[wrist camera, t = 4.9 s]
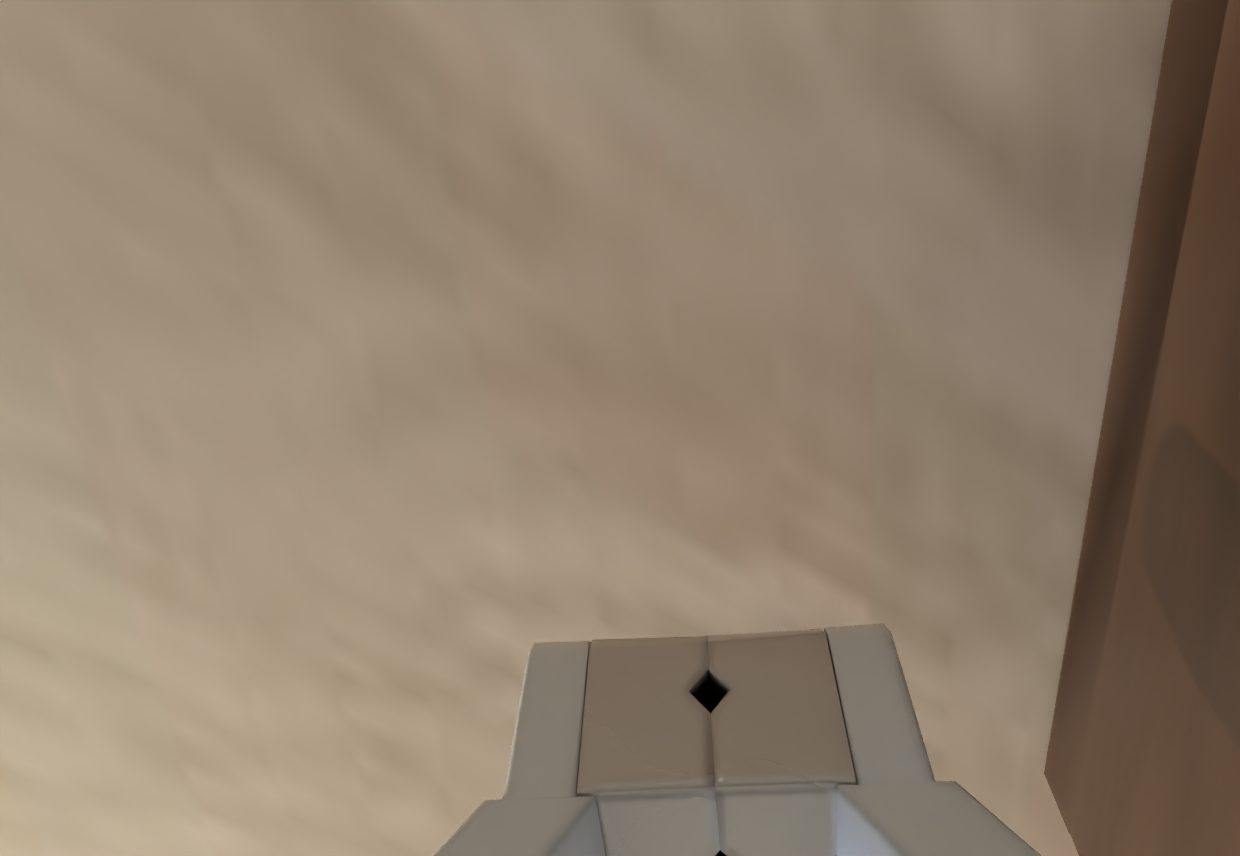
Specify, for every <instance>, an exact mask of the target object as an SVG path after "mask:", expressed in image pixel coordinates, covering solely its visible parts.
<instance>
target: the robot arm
mask: <svg viewBox="0 0 1240 856" xmlns="http://www.w3.org/2000/svg"><path fill="white" fill-rule="evenodd" d="M434 856H1041V855H1040V854H1039V853H1037V852H1036V851H1035V850H1034V849H1033V848H1032V847H1031V846H1029V845H1028V844H1027V843H1026V842H1025V841H1024V840H1022V839H1021V838H1020V837H1019V836H1018V835H1017V834H1015V833H1014V832H1013V831H1012V830H1011V829H1010V828H1009V827H1007V826H1006V825H1005V824H1004V823H1003V822H1002V821H1000V820H999V819H998V818H997V817H996V816H995V815H994V814H992V813H991V812H990V811H989V810H988V809H987V808H985V807H984V806H983V805H982V804H981V803H980V802H979V801H977V800H976V799H975V798H974V797H973V796H972V795H970V794H969V793H968V792H967V791H966V790H965V789H964V788H962V787H961V786H960V785H959V784H958V783H957V782H955V781H950V782H935V779H934V775H933V772H932V769H931V765H930V762H929V759H928V755H927V752H926V748H925V745H924V742H923V738H922V735H921V732H920V728H919V725H918V721H917V718H916V715H915V711H914V708H913V705H912V701H911V698H910V694H909V691H908V688H907V684H906V681H905V678H904V674H903V671H902V667H901V664H900V661H899V657H898V654H897V650H896V647H895V644H894V640H893V637H892V634H891V631H890V630H889V629H888V628H887V627H886V626H885V625H884V624H872V625H858V626H844V627H830V628H825V629H824V631H823V630H822V629H810V630H794V631H778V632H762V633H746V634H730V635H714V636H701V637H669V638H636V639H604V640H592V642H589V641H583V642H544V643H534V644H533V646H532V648H531V650H530V652H529V654H528V655H527V660H526V665H525V671H524V677H523V683H522V689H521V695H520V701H519V707H518V713H517V718H516V724H515V730H514V736H513V742H512V748H511V754H510V760H509V766H508V772H507V777H506V783H505V789H504V795H503V799H500V800H485V801H484V802H483V803H482V804H481V805H480V806H479V807H478V808H477V809H476V810H475V811H474V813H473V814H472V815H471V816H470V817H469V818H468V819H467V820H466V821H465V822H464V823H463V824H462V826H461V827H460V828H459V829H458V830H457V831H456V832H455V833H454V834H453V835H452V836H451V837H450V839H449V840H448V841H447V842H446V843H445V844H444V845H443V846H442V847H441V848H440V849H439V850H438V852H437V853H436V854H435V855H434Z"/></svg>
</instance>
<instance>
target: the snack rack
mask: <svg viewBox="0 0 1240 856" xmlns="http://www.w3.org/2000/svg"><path fill="white" fill-rule="evenodd" d="M1044 774H1045V777H1046V779H1047V781H1048V784H1049V786H1050V789H1051V791H1052V793H1053V796H1054V798H1055V801H1056V803H1057V805H1058V808H1059V810H1060V813H1061V815H1062V817H1063V820H1064V822H1065V825H1066V827H1067V829H1068V832H1069V833H1070V835H1071V837H1072V839H1073V842H1074V844H1075V846H1076V849H1077V851H1078V854H1079V856H1240V0H1172V5H1171V11H1170V17H1169V23H1168V29H1167V35H1166V41H1165V47H1164V53H1163V59H1162V65H1161V71H1160V77H1159V83H1158V89H1157V95H1156V101H1155V107H1154V113H1153V119H1152V125H1151V131H1150V137H1149V143H1148V149H1147V155H1146V161H1145V167H1144V173H1143V179H1142V186H1141V192H1140V198H1139V204H1138V210H1137V216H1136V222H1135V228H1134V234H1133V240H1132V246H1131V252H1130V258H1129V264H1128V270H1127V276H1126V282H1125V288H1124V294H1123V300H1122V306H1121V312H1120V318H1119V324H1118V330H1117V336H1116V342H1115V348H1114V354H1113V360H1112V366H1111V373H1110V379H1109V385H1108V391H1107V397H1106V403H1105V409H1104V415H1103V421H1102V427H1101V433H1100V439H1099V445H1098V451H1097V457H1096V463H1095V469H1094V475H1093V481H1092V487H1091V493H1090V499H1089V505H1088V511H1087V517H1086V523H1085V529H1084V535H1083V541H1082V547H1081V554H1080V560H1079V566H1078V572H1077V578H1076V584H1075V590H1074V596H1073V602H1072V608H1071V614H1070V620H1069V626H1068V632H1067V638H1066V644H1065V650H1064V656H1063V662H1062V668H1061V674H1060V680H1059V686H1058V692H1057V698H1056V704H1055V710H1054V716H1053V722H1052V728H1051V734H1050V741H1049V747H1048V753H1047V759H1046V765H1045V771H1044Z"/></svg>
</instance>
